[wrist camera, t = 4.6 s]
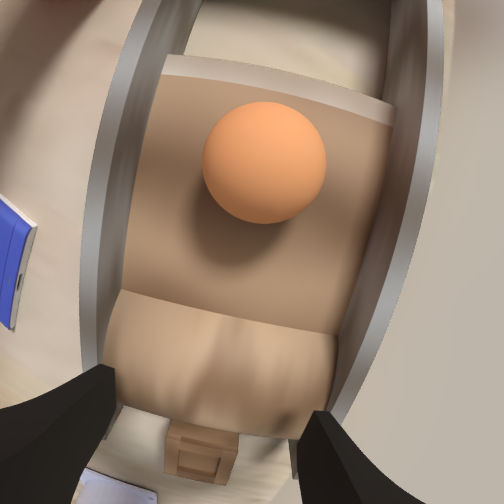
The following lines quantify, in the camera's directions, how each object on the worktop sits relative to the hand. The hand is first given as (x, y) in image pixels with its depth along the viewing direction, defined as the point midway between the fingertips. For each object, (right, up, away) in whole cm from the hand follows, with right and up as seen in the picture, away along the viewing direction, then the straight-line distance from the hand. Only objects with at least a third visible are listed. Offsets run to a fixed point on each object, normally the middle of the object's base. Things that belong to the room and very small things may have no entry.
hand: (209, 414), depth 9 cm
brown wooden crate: (-2, -6, +8) cm, 10 cm away
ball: (+2, +9, 0) cm, 9 cm away
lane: (+2, +10, +8) cm, 13 cm away
